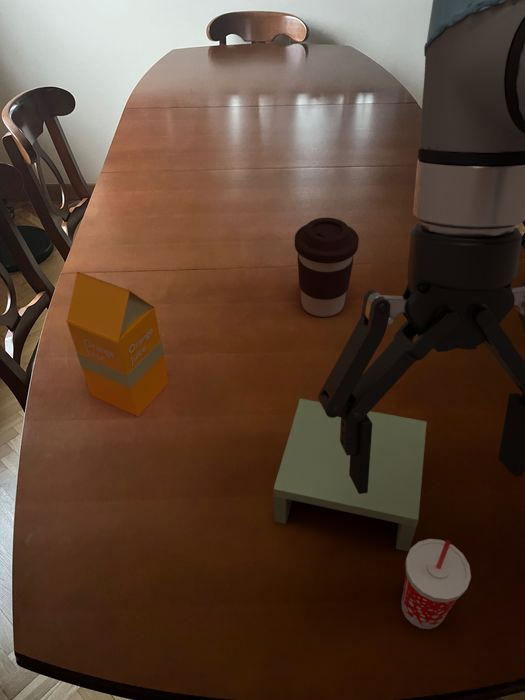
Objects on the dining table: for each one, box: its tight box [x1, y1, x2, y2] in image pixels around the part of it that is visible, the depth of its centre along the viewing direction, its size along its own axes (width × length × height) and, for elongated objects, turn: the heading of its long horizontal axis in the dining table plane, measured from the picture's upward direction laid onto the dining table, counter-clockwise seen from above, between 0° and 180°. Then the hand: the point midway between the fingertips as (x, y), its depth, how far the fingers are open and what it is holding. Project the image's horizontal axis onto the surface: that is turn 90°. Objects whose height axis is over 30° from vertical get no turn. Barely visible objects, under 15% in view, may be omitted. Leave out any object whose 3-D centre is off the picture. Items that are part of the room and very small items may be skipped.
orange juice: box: [65, 271, 170, 418], centre depth 81 cm, size 8×9×20 cm
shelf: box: [272, 398, 427, 553], centre depth 72 cm, size 14×16×7 cm
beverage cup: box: [400, 538, 472, 630], centre depth 58 cm, size 6×6×14 cm
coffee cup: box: [294, 217, 360, 318], centre depth 96 cm, size 10×10×15 cm
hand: (435, 475), depth 50 cm, fingers open, 13 cm apart
